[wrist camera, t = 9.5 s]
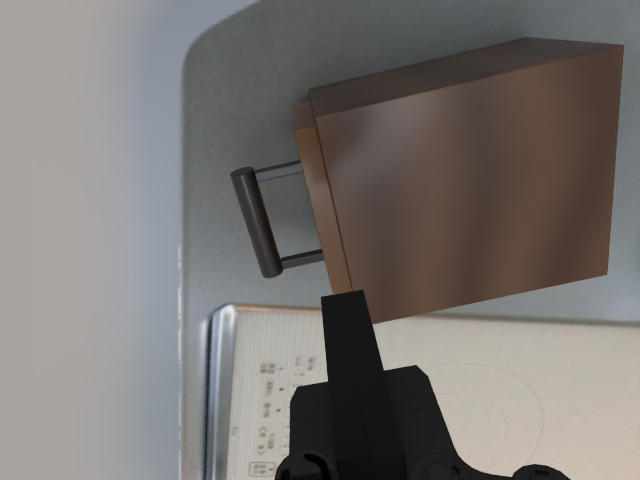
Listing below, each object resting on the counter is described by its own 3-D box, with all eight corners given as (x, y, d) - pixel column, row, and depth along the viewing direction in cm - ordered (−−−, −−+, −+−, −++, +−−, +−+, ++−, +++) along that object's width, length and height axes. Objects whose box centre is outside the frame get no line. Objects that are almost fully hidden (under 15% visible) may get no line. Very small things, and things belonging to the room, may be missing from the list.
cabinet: (344, 252, 36) (361, 327, 27) (308, 89, 30) (314, 117, 22) (530, 212, 35) (608, 275, 26) (527, 36, 30) (624, 44, 21)
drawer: (274, 267, 35) (269, 329, 28) (229, 119, 30) (209, 150, 23) (505, 216, 34) (560, 267, 27) (498, 56, 29) (563, 67, 22)
